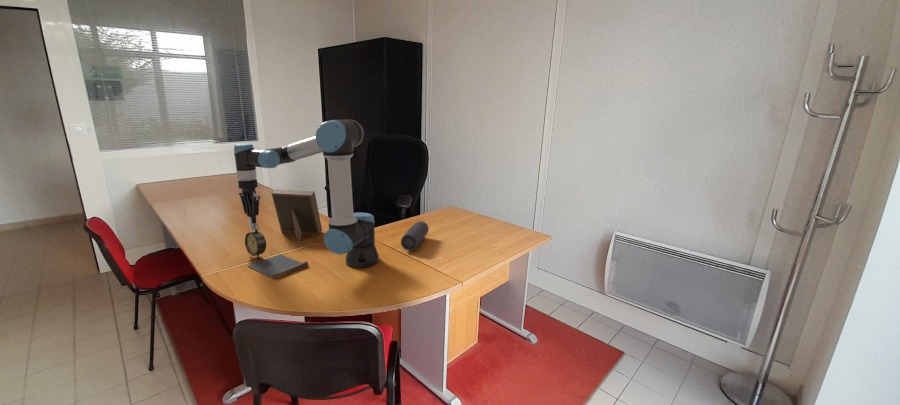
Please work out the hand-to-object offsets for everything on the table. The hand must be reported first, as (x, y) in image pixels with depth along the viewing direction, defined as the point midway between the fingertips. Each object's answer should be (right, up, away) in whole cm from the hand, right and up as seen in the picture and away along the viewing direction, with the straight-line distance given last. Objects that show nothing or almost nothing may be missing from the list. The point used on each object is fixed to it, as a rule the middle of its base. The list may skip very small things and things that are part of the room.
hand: (253, 229), depth 170 cm
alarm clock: (-1, -13, +4) cm, 13 cm away
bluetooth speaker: (+72, -10, +24) cm, 77 cm away
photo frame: (+7, -6, +33) cm, 34 cm away
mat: (+14, -16, -5) cm, 22 cm away
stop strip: (+22, -18, -10) cm, 30 cm away
